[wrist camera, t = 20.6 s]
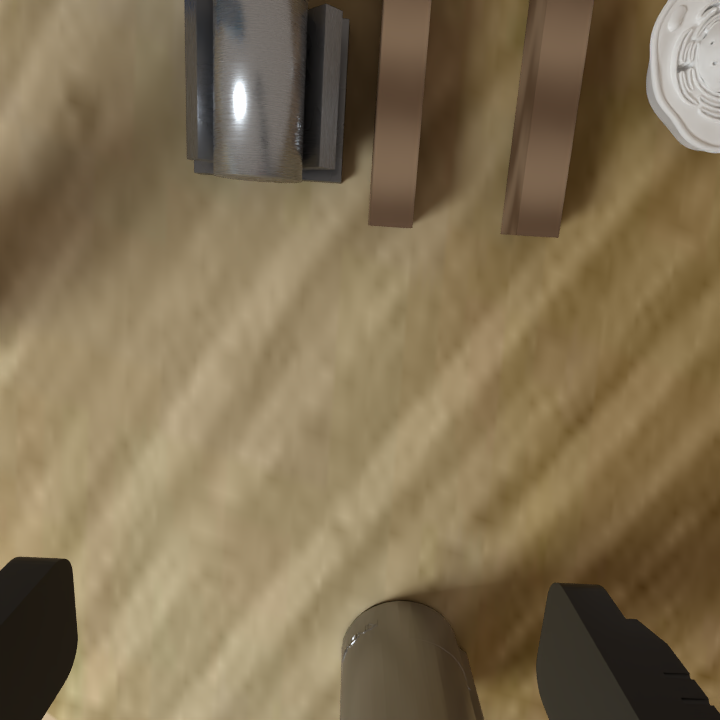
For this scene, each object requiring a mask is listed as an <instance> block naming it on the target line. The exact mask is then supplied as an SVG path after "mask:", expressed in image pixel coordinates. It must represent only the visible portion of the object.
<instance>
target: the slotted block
mask: <svg viewBox="0 0 720 720" xmlns="http://www.w3.org/2000/svg"><path fill="white" fill-rule="evenodd" d="M593 4H594V0H530V2H529V10H528V18H527V26H526V34H525V42H524V50H523V58H522V66H521V74H520V82H519V90H518V98H517V107H516V115H515V123H514V131H513V139H512V147H511V155H510V163H509V171H508V179H507V187H506V195H505V203H504V211H503V219H502V227H501V234H509V235H524V236H539V237H556V238H558V237H559V230H560V224H561V217H562V210H563V204H564V197H565V190H566V184H567V177H568V170H569V164H570V157H571V151H572V144H573V137H574V131H575V124H576V117H577V111H578V104H579V97H580V91H581V84H582V77H583V71H584V64H585V57H586V51H587V44H588V37H589V31H590V24H591V17H592V11H593ZM430 12H431V0H383V3H382V18H381V34H380V49H379V64H378V80H377V95H376V111H375V126H374V141H373V157H372V172H371V188H370V203H369V219H368V225H371V226H386V227H401V228H412V225H413V213H414V201H415V190H416V178H417V166H418V154H419V142H420V130H421V119H422V107H423V95H424V83H425V71H426V60H427V48H428V36H429V24H430Z"/></svg>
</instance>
